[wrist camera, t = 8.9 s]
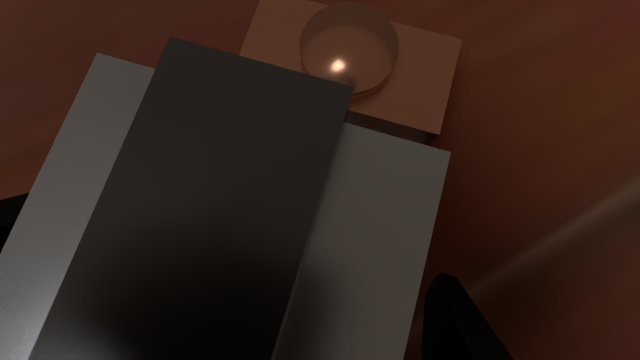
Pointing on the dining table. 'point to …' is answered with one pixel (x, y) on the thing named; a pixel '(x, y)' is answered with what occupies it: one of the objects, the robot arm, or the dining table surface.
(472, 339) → the robot arm
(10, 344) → the lock block
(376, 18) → the block
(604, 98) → the dining table surface
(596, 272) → the dining table surface
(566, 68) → the dining table surface
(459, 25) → the dining table surface
